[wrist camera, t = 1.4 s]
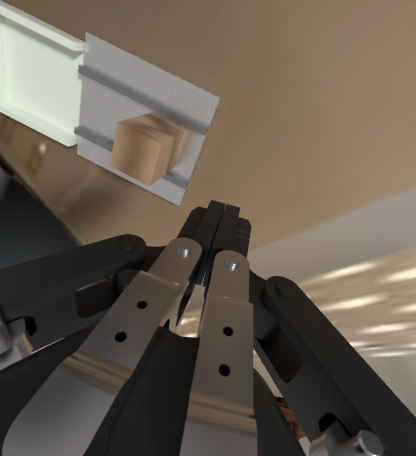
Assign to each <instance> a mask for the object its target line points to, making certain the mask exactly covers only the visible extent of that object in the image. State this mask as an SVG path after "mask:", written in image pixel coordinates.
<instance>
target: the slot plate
mask: <svg viewBox="0 0 416 456" xmlns="http://www.w3.org/2000/svg"><path fill="white" fill-rule="evenodd" d="M78 73H80V74H82V75H83V77H82V91H81V104H80V118H79V126H77V127H74V133H75V134H77V135H78V144H77V154H78V155H80V156H82V157H84V158H86V159H88V160H90V161H91V162H93V163H95V164H97V165H99V166H101V167H103V168H105V169H107V170H109V171H111V172H113V173H115V174H117V175H119V176H121V177H123V178H125V179H127V180H129V181H131V182H132V183H134V184H136V185H138V186H140V187H142V188H144V189H146V190H148V191H150V192H152V193H154V194H156V195H158V196H160V197H162V198H164V199H166V200H168V201H170V202H172V203H174V204H175V205H177V206H180V205H181V204H182V203H183V200H184V198H185V195H186V192H187V190H188V187H189V184H190V182H191V179H192V176H193V174H194V171H195V169H196V166H197V163H198V161H199V158H200V155H201V153H202V150H203V148H204V145H205V142H206V140H207V137H208V134H209V132H210V129H211V127H212V124H213V121H214V119H215V116H216V113H217V111H218V108H219V105H220V103H221V100H222V98H223V97H221V96H219V95H217V94H215V93H213V92H211V91H209V90H207V89H205V88H203V87H201V86H199V85H197V84H195V83H193V82H191V81H189V80H187V79H185V78H183V77H181V76H179V75H177V74H175V73H173V72H171V71H169V70H167V69H165V68H163V67H161V66H159V65H157V64H155V63H153V62H151V61H149V60H147V59H145V58H143V57H140V56H138V55H136V54H134V53H132V52H130V51H128V50H126V49H124V48H122V47H120V46H118V45H116V44H114V43H112V42H110V41H108V40H106V39H104V38H102V37H100V36H98V35H96V34H94V33H90V32H86V37H85V51H84V64H83V65H78ZM148 113H149V114H151V115H153V116H155V117H157V118H159V119H161V120H163V121H165V122H167V123H169V124H171V125H173V126H175V127H177V128H179V129H181V130H183V131H185V134H184V137H183V140H182V144H181V147H180V150H179V153H178V156H177V159H176V162H175V165H174V168H173V169H172V170H170V171H169V172H168V173H166V174H165V175H164V176H162V177H161V178H160V179H159V180H157V181H156V182H155V183H153V184H152V185H151V186H148V185H146V184H144V183H142V182H140V181H138V180H136V179H134V178H132V177H130V176H129V175H127V174H125V173H123V172H121V171H119V170H117V169H115V168H113V167H111V166H110V162H111V156H112V150H113V144H114V137H115V131H116V125H117V122H119V121H122V120H126V119H129V118H133V117H137V116H140V115H144V114H148Z"/></svg>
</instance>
